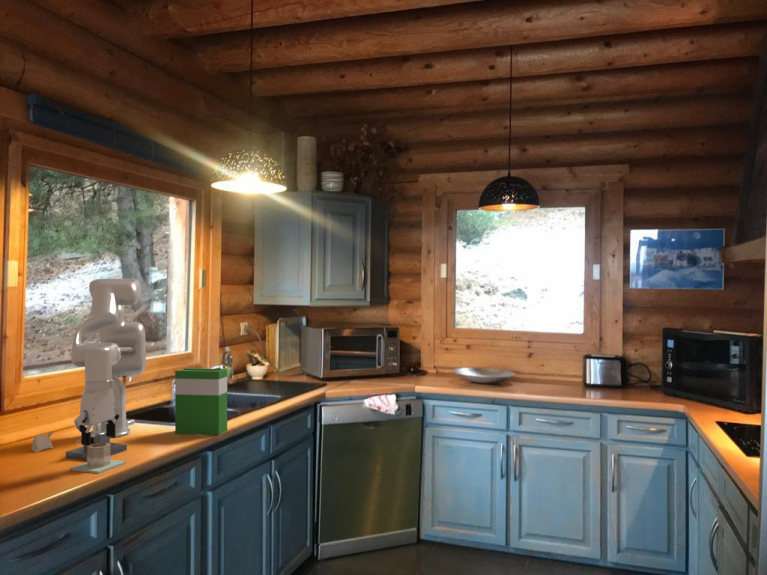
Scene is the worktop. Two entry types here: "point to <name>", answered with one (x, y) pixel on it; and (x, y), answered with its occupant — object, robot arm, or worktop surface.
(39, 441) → the decorative ornament
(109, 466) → the mat
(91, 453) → the hollow octagonal tube
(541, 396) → the worktop surface
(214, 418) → the green banded box
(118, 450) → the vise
